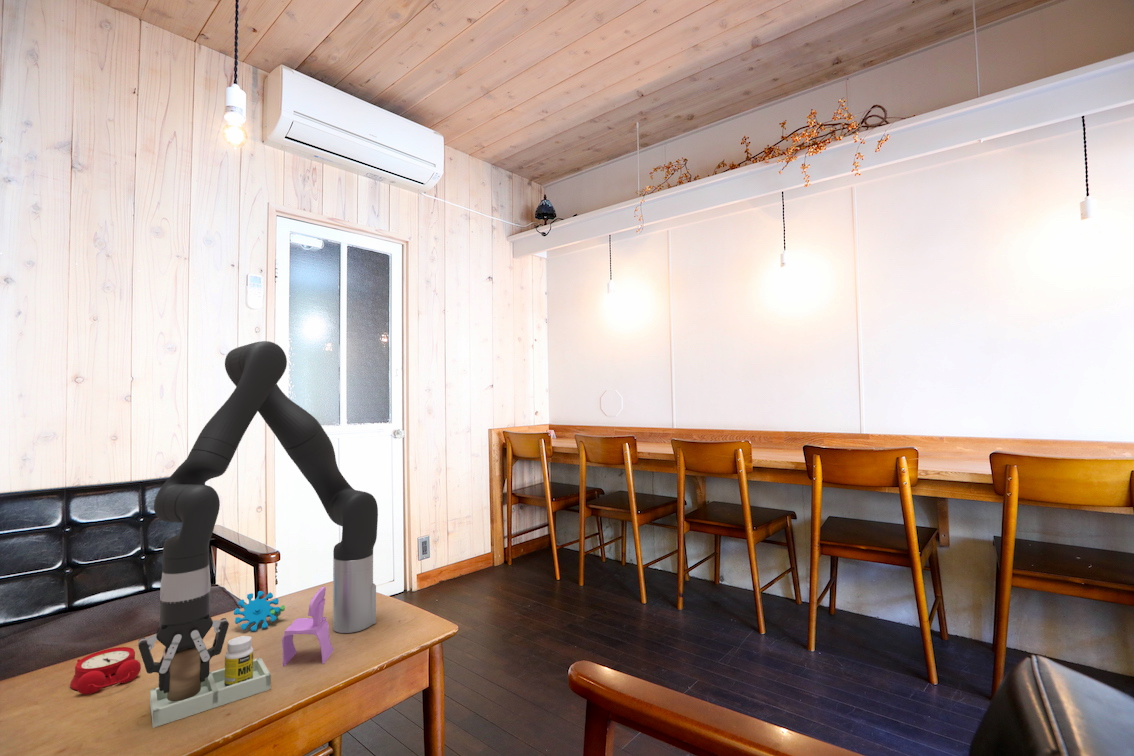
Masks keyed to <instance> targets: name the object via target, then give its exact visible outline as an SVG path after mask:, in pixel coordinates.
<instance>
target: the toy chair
mask: <svg viewBox="0 0 1134 756" xmlns="http://www.w3.org/2000/svg"><path fill="white" fill-rule="evenodd" d="M325 596H326V586H325V585H324V586H322V587H320V588H319V589H318V591H317V592H316V593H315V594H314V595H313V597H312V599H311V600H310V603H309V604H308V605H309V607H308V613H307V616H308V617H309V618H307V617H299V618H298V617H297V618H296V619H295V620H294V621H293V622H292V623H291V624H290V625H289V626H288V627H287V628H286V629H285V630H284V635H283V636H282V638H281V646H282V649H281V650H282V667H286V666H287V665H288V663H289V662H290V661H291V660H292V659H293V657H294V656H295V655H296V654H297V652H298V651H297V649H296V647H295V644H294V635H314V636H315V637H316V639H317V640H318V643H319V647H320V650H321V664H322V665H324V664H325V663H326V661H327V660H329V657H331V656H332V654H333V652H334V651H335V650H334V647H333V645H332V642H331V639H330V626H329V622H328V620H327V616H324V611H325V610H324V608H325V605H326V603H325V602H326V598H325Z"/></svg>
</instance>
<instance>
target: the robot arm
mask: <svg viewBox="0 0 1134 756" xmlns="http://www.w3.org/2000/svg"><path fill="white" fill-rule="evenodd" d="M287 359H288V358H287V355H286V353H285V351H284V349H283V348H282V347H281V346H280V345H279V344H277V343H275V342H272V341H267V340H262V341H261V340H260V341H255V342H253V343H252V342H251V343H249V344H246V345H241V346H239V347H235V348H233V349H231V350H230V351H229V352H228V353H227V354H226V356H225V360H224V369H225V372H226V374H227V376H228V378H229V379H230V380H231V382H232V383H233V384H234V386H235V388H234V390H233V392H232V393H231V394H230V395H229V397H228V398H227V400H226V401H225V402H224V403H223V404H222V405H221V406H220V408H219V409H218V410H217V411H216V412H215V413H214V415H213V416H211V418H210V419H209V420H208V422H207V423H206V424H205V425H204V427H203V428H202V430H201V431H200V433H199V435H198V437H197V438H196V440H195V442H194V444H193V446H192V448H191V450H190V451H189V453H188V455H187V457H186V459H185V460H183V462H182V463H181V464H180V465H179V466H178V467H177V468H176V469H175V470H174V472H172V474H171V475H170V476H169V477H168V478H167V480H165V482H164V483H163V485H162V486H161V487H160V489H159V490H158V491H157V493H156V496H155V498H154V504H153V508H154V509H153V510H154V515H156V516H155V517H157V518H158V519H159V520H160V521H164V522H166V523H179V524H181V525H182V526H181V529H180V532H179V535H174V536H172V537H170V538H168V539H167V540H166V541H165V542H164V543H163V548H162V573H161V581H160V586H159V587H160V590H159V591H160V593H159V599H160V602H159V626H158V629H157V631H156V633H155V634H152V635H150V636H148V637H140V638H139V639H138V641H137V646H138V649H139V652H140V653H139V654H140V657H141V658H142V661H143V665H144V667H145V671H146V673H147V674H153V673H156V674H158V687H159V690H160V691H164V694H165V693H168V692H169V671H168V667H169V665H170V663H171V660H172V659H173V657H174V654H175V652H178V651H181V650H183V649H186V648H194V647H196V648H197V650H198V652H200V656H201V677H200V683H201V682H204V681H205V678H207V677H208V676H209V672H210V661H211V659H212V658H213V657H214V656H218V655H220V654H221V653H222V651H223V646H224V644H225V640H226V636H227V633H228V629H229V627H230V623H229V621H228V620H227V618H226V617H224V618H223V617H222V618H221V619H217V620H216V619H214V620H213V619H212V617H211V587H212V583H211V573H210V572H211V571H210V542H211V538H212V535H213V534H214V533H213V532H214V529H215V526H216V523H217V520H218V515H219V513H220V509H221V508H220V507H221V505H220V504H221V501H220V497H219V494H218V492H217V491H216V490H215V488H213V487H212V486H210V485H206V483H207V482H208V481H209V480H211V479H214V478H218V477H221V476H223V475H224V474H225V473H226V471H227V470H228V469H229V465H230V463H231V462H232V460H233V457H234V455H235V454H236V451H237V449H238V447H239V445H240V443H241V441H242V440H243V437H244V435H245V433H246V432H247V429H248V428H249V426H250V424H251V423H252V422H253V419H254V418H255V416H256V414H257V413H259V414H260V416H261V418H262V420H264V422H265V423H266V424H267V426H268V427H269V429H270V430H271V431H272V433H273V435H275V437H276V439H277V440H278V441H279V443H280V445H281V446H282V448H283V449H284V451H285V452H286V453H287V455H288V457H290V459H291V460H292V462H293V463H294V464H295V465H296V467H297V468H298V470H299V471H300V472H301V473H302V475H303V476H304V478H305V479H306V480H307V482H308V483H309V485H311V487H312V488H313V490H314V492H315V493H316V495H317V497H318V499H319V500H320V503H321V504H322V507H323V508H324V510H325V512H326V514H327V515H328V517H329V519H330V520H331V521H332V522H333V523H335V524H336V525H338V526H341V527H342V530H341V531H342V532H341V540H340V542H338V543H336V544H335V545H334V546H333V555H332V556H333V558H332V559H333V560H332V561H333V566H332V567H333V568H332V569H333V570H332V571H333V574H332V577H333V578H332V579H333V581H332V584H333V585H332V586H333V587H332V592H333V593H332V630H333V631H334V632H337V633H340V634H350V633H351V634H352V633H357V632H360V631H363V630H367V628H369V627H371V626H372V625H375V624H377V585H376V583H374V547H375V545H376V542H377V537H378V520H379V519H378V518H379V517H378V516H379V508H378V503H377V499H376V498H375V496H373V494H371V493H369V492H367V491H362V490H356V489H355V488H354V487H352V486H351V485H350V484H349V482H348V481H347V480H346V478H345V477H344V476H343V474H342V473H341V471H340V469H339V467H338V464H337V459H336V453H335V448H334V446H333V442H332V440H331V439H330V437H329V436H328V433H326V431H325V430H324V428H323V427H322V424H320V422H319V420H318V419H317V418H316V417H314V416H313V415H312V414H311V413H309V411H307V410H305V409H304V408H303V407H301V406H300V405H299V404H297V403H295V402H294V401H293V400H291V399H290V398H289V397H288V396H287V395H286V394H285V393H284V391H282V389H281V388H280V387H279V385H278V382H280V379H282V377H283V375H284V373H285V371H286V369H287V366H288V360H287ZM211 628H213V630H214V631H213V632H214V633H215V637H214V639H213V643H212V646H211V647H209V648H207V646H206V645H205V642H204V639H205V637H206V635H207V634H208V632H209V631H210V630H211ZM157 641H158V642H160V644H161V645H163V646H164V650H163V652H162V655H161V658H160V660H159V661H157V662H155V661H154V659H153V655H152V651H151V650H153V649H154V648H155V643H156V642H157Z"/></svg>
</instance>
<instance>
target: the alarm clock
mask: <svg viewBox="0 0 1134 756" xmlns="http://www.w3.org/2000/svg"><path fill="white" fill-rule="evenodd" d="M76 661H77V662H76V663H75V667H74V676H73V678H72V680H71V681H70V688H71V689H72V690H75V691H77V692H78V693H79V694H81V695H84V696H85V695H86V696H87V695H92V694H95V693H99V692H100V690H102V689H103V688H105V687H109V686H113V685H115V684H118V683H119V684H127V683H130V682H132V681H133V680H135V679H136V678H138V675H139V674H140V672H141V668H142V666H141V662H140V661H139V660H137V659H136V651H135V649H134V648H133V647H130V646H129V647H128V646H121V647H113V648H107V649H103V650H99V651H96V652H93V653H92V654H89V655H87V656H85V657H83V658H78V659H77V660H76ZM129 681H130V682H129Z"/></svg>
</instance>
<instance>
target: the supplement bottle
mask: <svg viewBox="0 0 1134 756" xmlns="http://www.w3.org/2000/svg"><path fill="white" fill-rule="evenodd" d="M252 642H253V641H252V637H251V635H242V636H236V637H234V638H232V639H229V641H228V642H227V651H226V652H225V655H224V668H225V682H224V686H225V687H226V686H230V685H233V684H236V683H239V682H242V681H246V680H249V679H252V678H253V660H254V648H253V646H252Z"/></svg>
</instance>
